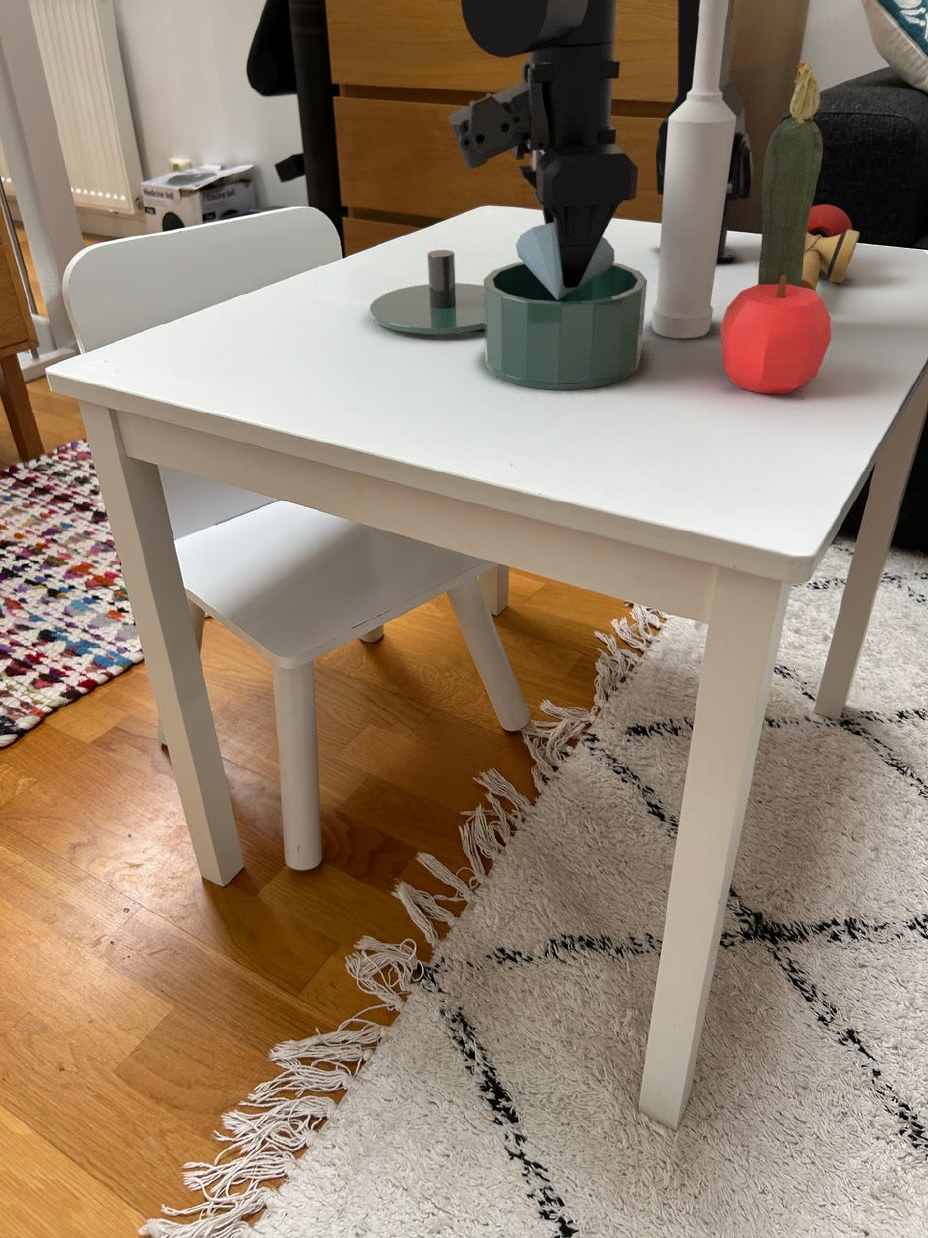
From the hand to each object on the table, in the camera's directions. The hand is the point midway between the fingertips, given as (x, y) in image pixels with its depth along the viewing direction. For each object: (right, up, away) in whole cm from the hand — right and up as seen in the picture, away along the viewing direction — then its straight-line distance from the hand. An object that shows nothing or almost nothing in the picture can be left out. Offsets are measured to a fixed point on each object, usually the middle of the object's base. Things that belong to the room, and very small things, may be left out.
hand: (565, 276), depth 74 cm
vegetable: (+19, -1, +10) cm, 21 cm away
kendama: (+26, +6, +19) cm, 32 cm away
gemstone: (0, -1, +1) cm, 1 cm away
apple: (+15, -9, -1) cm, 18 cm away
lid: (-10, +2, +14) cm, 17 cm away
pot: (0, -6, +4) cm, 7 cm away
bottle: (+11, -1, +9) cm, 14 cm away
